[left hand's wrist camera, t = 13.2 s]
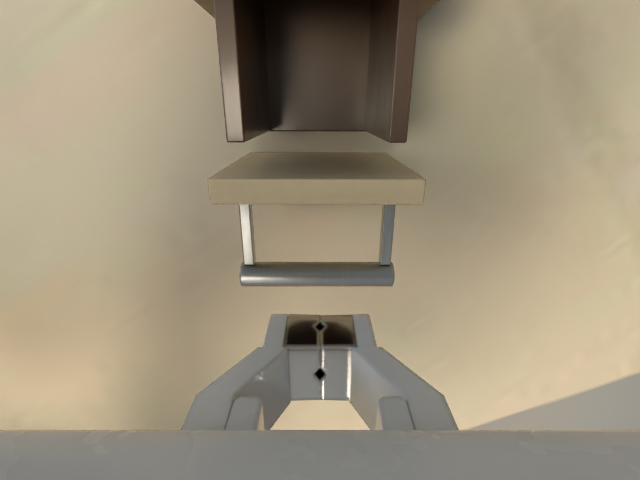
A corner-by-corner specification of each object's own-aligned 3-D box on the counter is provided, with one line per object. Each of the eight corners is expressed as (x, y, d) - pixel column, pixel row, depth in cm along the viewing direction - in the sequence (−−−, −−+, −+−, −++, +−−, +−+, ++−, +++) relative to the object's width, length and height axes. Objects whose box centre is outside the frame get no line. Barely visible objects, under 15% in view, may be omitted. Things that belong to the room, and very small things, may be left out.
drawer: (379, 240, 27) (411, 308, 18) (255, 240, 27) (222, 308, 18) (408, -159, 19) (496, -427, 9) (227, -160, 19) (134, -430, 9)
